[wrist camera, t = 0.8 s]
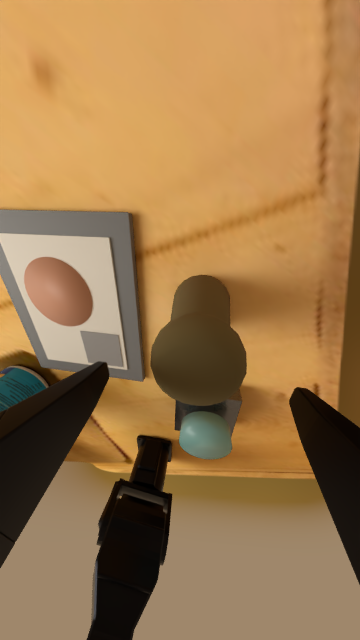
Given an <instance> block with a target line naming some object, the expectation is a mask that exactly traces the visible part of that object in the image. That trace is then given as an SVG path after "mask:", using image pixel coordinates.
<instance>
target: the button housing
mask: <svg viewBox="0 0 360 640" xmlns="http://www.w3.org/2000/svg"><path fill="white" fill-rule="evenodd" d="M241 403H242V399H241V395H240V390H239V389H238V390H237V391H236V392H235V393H234V394H233V395H232V396H231V397H230V398H228V399H227V400H225V401H223V402H221V403H217V404H213V405H209V406H195V405H190V404H186V403H182V402H180V401H178V400H176V410H175V430H178V431H180V430H181V423H182V419H183V418H184V417H185V416H186V415H188V414H190V413H192V412H197V411H205V412H211V413H215V414H217V415H219V416H221V417H222V418H224V419H225V420H226V421H227V423H228V424H229V427H230V435H231V436H232V433H233V429H234V426H235V423H236V420H237V416H238V413H239V410H240V407H241Z"/></svg>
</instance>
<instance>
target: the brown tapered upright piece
mask: <svg viewBox="0 0 360 640" xmlns="http://www.w3.org/2000/svg"><path fill="white" fill-rule="evenodd" d="M246 367H247V363H246V351H245V348H244V346H243V344H242V342H241V339H240V337H239V335H238V334H237V333H236V332H235V331H234V330H233V329H232V328H231V327H230V297H229V293H228V291H227V289H226V287H225V286H224V285H223V284H222V283H221V282H220V281H219V280H217V279H215V278H214V277H212V276H206V275H198V276H192V277H190V278H188V279H187V280H185V281H183V282H182V284H181V285H180V286H179V287H178V288H177V290H176V292H175V295H174V301H173V307H172V314H171V321H170V322H169V323H168V324H167V325H166V326H165V327H164V328H163V329H162V330H160V332H159V334H158V336H157V338H156V340H155V342H154V344H153V346H152V351H151V369H152V372H153V375H154V377H155V380H156V382H157V384H158V385H159V386H160V388H161V389H162V390H163V391H164V392H165V393H166V394H168V395H169V396H170V397H171V398H173V399H175V400H178V401H180V402H182V403H186V404H190V405H195V406H209V405H213V404H217V403H221V402H223V401H225V400H227V399H228V398H230V397H231V396H232V395H233V394H234V393H235V392H236V391H237V390H238V389H239V387H240V386H241V384H242V382H243V379H244V377H245V375H246Z"/></svg>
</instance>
